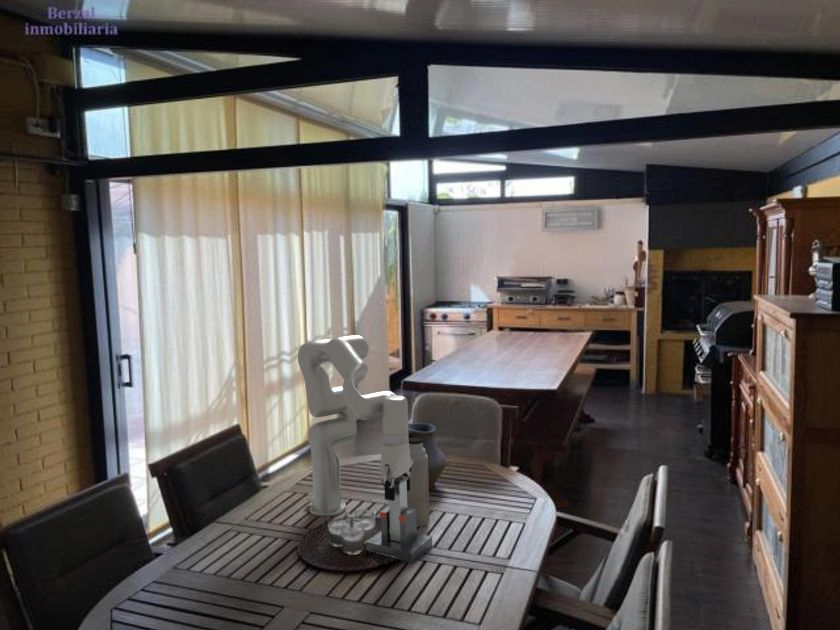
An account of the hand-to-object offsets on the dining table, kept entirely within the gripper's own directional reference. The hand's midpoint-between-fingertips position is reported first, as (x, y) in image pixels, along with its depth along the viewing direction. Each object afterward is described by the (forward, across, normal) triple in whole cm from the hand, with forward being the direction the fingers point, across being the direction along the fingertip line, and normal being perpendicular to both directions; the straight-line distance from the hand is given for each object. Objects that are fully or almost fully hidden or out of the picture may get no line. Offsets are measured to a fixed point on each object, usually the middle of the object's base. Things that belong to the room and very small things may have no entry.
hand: (397, 494), depth 188 cm
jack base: (+17, 0, 0) cm, 17 cm away
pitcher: (+17, -45, -20) cm, 52 cm away
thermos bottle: (+17, -19, -5) cm, 26 cm away
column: (+14, 0, 0) cm, 14 cm away
